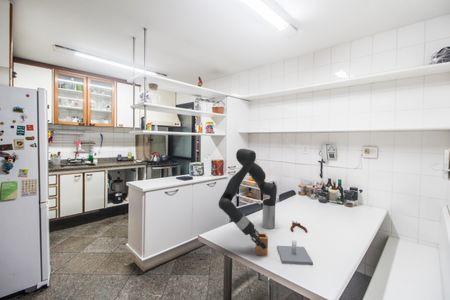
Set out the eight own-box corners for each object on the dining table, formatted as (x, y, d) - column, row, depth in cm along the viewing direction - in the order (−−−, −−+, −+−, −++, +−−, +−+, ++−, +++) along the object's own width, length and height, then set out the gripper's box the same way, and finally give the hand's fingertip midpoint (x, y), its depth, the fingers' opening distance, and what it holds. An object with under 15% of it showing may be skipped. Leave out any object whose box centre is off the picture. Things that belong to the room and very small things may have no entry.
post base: (276, 247, 129) (277, 234, 129) (303, 249, 128) (304, 235, 128) (282, 263, 113) (282, 247, 113) (312, 265, 112) (313, 249, 112)
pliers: (301, 222, 170) (301, 219, 170) (308, 233, 150) (308, 230, 150) (286, 221, 172) (286, 218, 171) (291, 232, 152) (291, 229, 152)
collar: (255, 249, 127) (256, 233, 127) (266, 249, 127) (266, 233, 126) (256, 254, 121) (256, 237, 120) (267, 255, 121) (267, 238, 120)
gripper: (249, 225, 116) (271, 247, 116) (248, 215, 131) (267, 235, 130) (239, 234, 117) (261, 256, 117) (239, 223, 131) (258, 243, 131)
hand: (264, 245), depth 124 cm, fingers closed on collar, 6 cm apart
